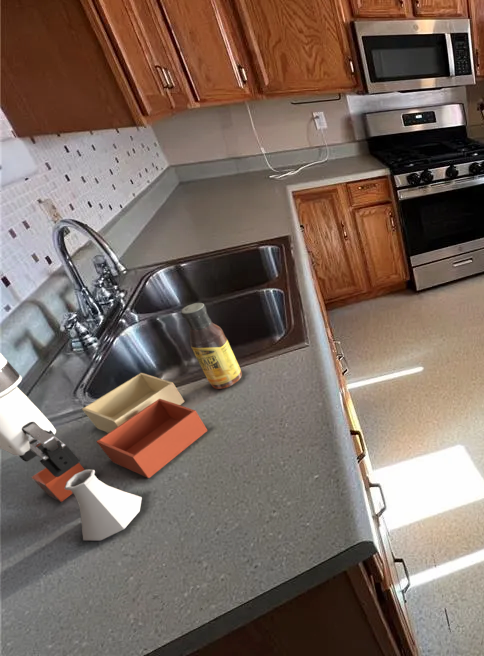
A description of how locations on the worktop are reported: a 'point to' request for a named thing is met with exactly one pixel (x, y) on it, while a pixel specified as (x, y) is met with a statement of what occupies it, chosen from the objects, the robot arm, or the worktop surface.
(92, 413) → the cream bin
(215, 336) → the sauce bottle
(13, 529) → the worktop surface
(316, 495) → the worktop surface
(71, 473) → the terracotta block
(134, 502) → the flask
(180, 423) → the terracotta bin
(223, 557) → the worktop surface
